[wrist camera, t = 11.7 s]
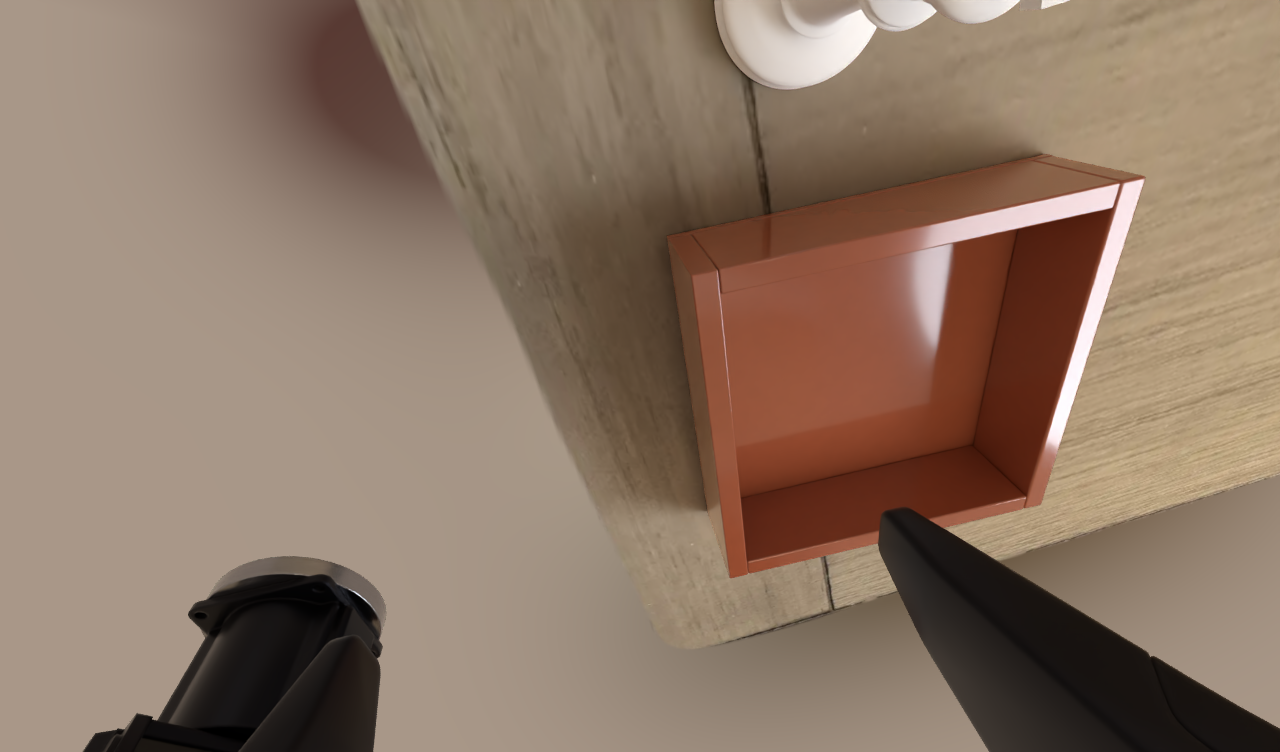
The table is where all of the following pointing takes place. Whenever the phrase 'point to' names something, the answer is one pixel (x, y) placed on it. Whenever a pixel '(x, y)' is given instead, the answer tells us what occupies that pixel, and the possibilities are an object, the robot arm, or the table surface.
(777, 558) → the open box
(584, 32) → the table surface
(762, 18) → the chess piece
